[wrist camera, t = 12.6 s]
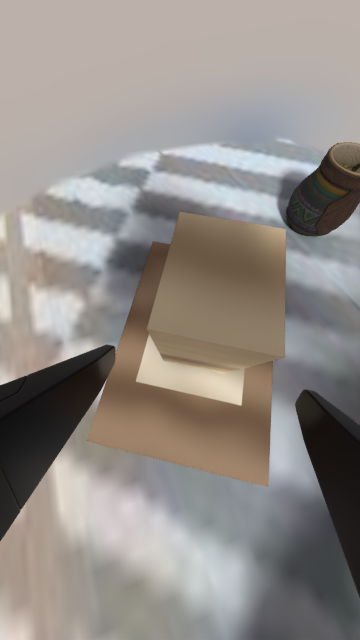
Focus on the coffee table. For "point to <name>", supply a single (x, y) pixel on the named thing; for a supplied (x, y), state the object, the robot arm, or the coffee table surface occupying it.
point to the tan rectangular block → (221, 295)
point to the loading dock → (183, 401)
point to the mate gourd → (327, 192)
